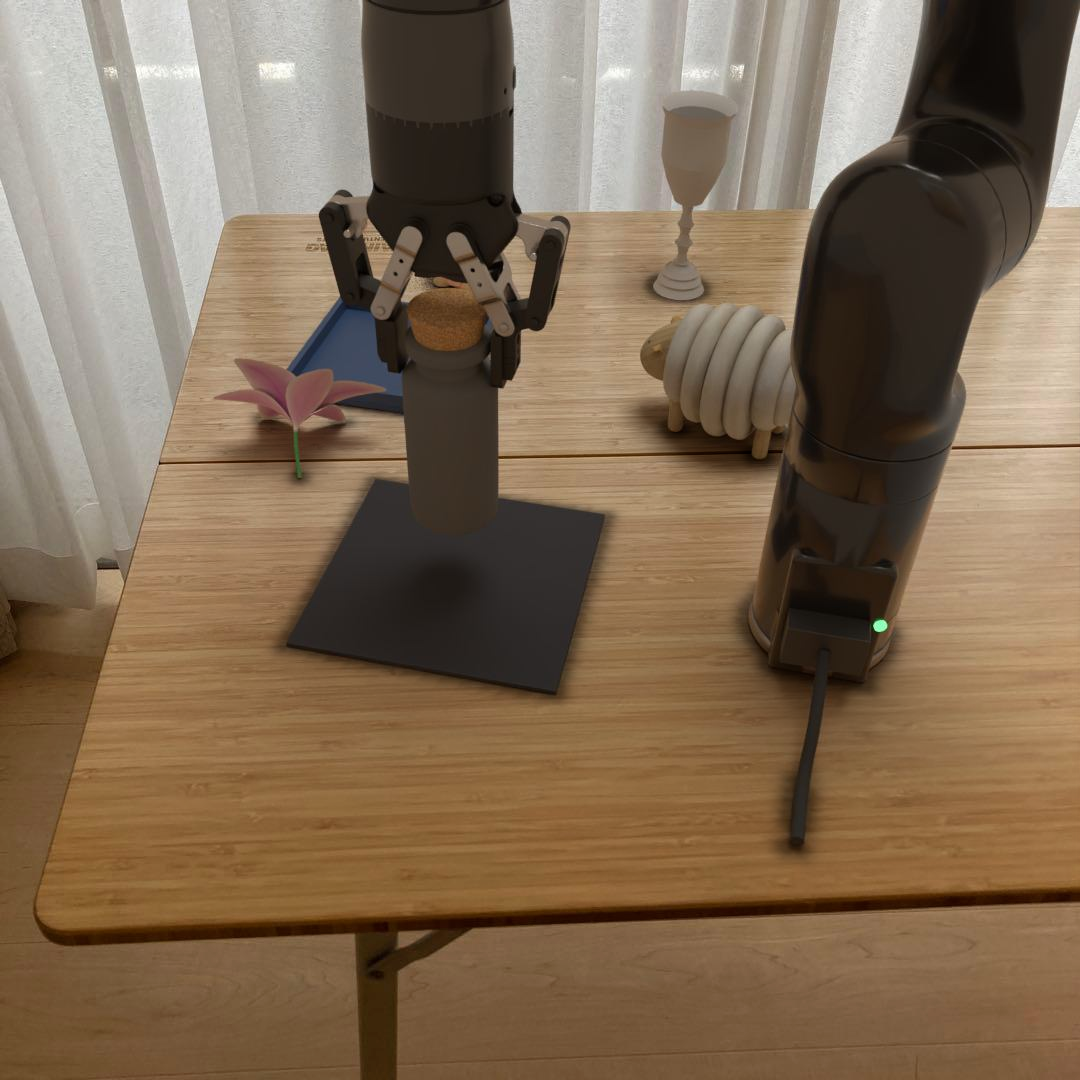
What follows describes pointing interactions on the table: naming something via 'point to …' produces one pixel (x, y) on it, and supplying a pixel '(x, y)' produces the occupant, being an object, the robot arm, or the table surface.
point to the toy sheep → (725, 371)
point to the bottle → (450, 413)
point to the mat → (455, 591)
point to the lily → (295, 394)
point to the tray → (353, 356)
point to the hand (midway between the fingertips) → (450, 372)
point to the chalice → (691, 173)
